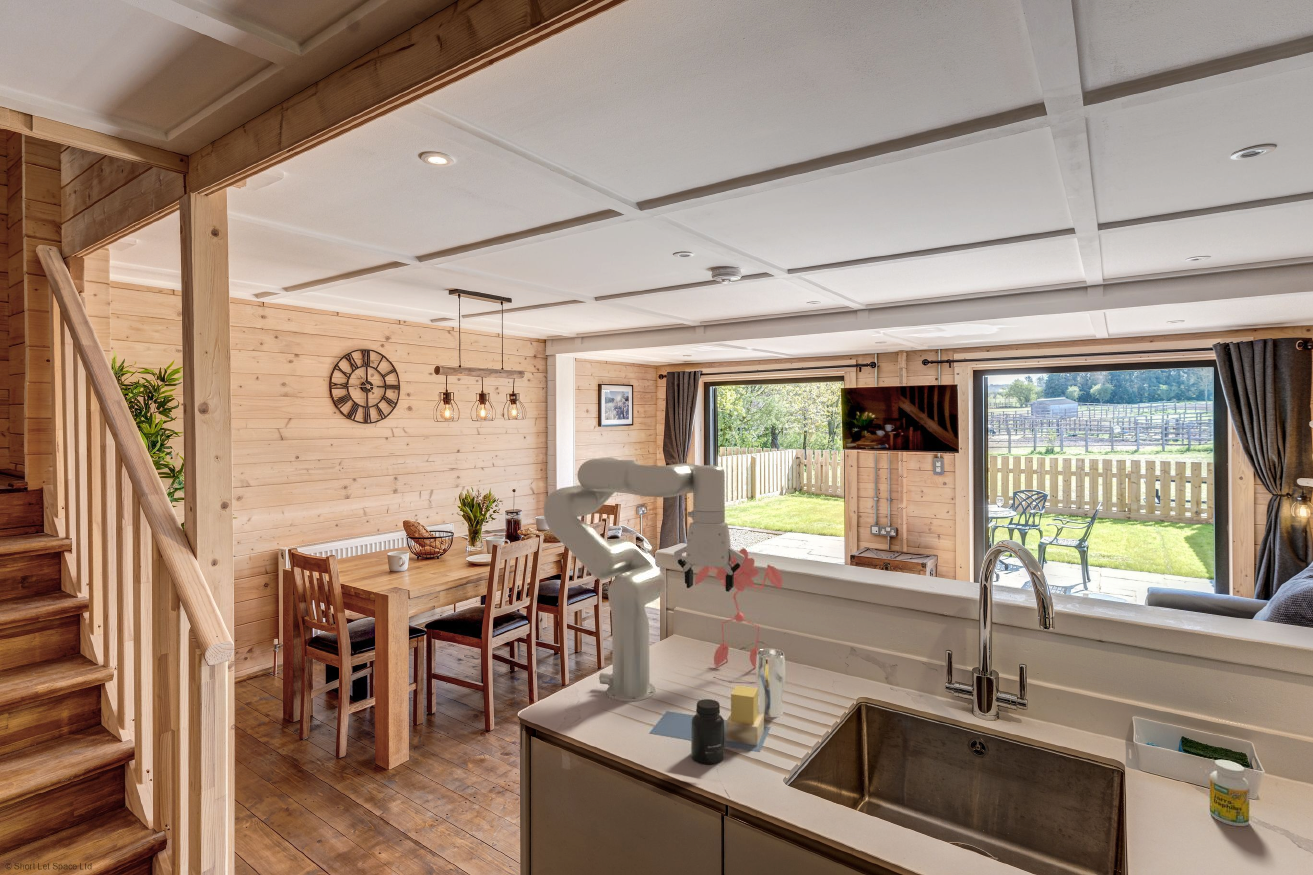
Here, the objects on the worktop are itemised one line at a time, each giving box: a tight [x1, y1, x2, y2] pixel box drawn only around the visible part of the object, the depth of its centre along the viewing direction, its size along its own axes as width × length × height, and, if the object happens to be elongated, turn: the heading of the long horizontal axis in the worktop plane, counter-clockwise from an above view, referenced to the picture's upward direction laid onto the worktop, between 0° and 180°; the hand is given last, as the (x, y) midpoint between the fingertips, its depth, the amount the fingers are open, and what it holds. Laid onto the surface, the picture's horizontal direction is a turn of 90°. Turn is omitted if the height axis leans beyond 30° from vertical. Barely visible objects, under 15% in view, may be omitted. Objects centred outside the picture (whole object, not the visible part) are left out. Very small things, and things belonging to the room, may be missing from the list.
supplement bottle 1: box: [690, 698, 725, 766], centre depth 141 cm, size 7×7×12 cm
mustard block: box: [730, 685, 759, 725], centre depth 150 cm, size 5×5×6 cm
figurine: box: [694, 548, 783, 684], centre depth 188 cm, size 15×26×35 cm, turn 67°
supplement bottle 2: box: [1209, 759, 1251, 827], centre depth 120 cm, size 5×5×10 cm
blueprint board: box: [648, 710, 771, 753], centre depth 153 cm, size 25×12×1 cm, turn 70°
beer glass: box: [755, 647, 786, 718], centre depth 162 cm, size 7×7×15 cm
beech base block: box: [726, 713, 765, 746], centre depth 150 cm, size 7×7×4 cm
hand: (709, 588), depth 162 cm, fingers open, 9 cm apart
